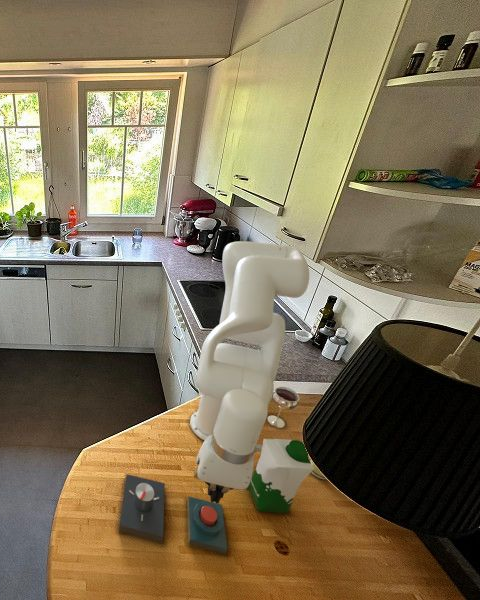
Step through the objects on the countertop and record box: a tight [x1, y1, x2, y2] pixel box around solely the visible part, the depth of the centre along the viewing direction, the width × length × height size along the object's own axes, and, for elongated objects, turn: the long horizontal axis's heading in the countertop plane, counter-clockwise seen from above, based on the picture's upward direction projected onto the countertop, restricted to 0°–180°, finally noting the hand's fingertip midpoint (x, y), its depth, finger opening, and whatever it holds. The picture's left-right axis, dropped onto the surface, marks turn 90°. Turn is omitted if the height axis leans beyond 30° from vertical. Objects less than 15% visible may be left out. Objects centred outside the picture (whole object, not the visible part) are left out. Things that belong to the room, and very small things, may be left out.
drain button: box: [200, 506, 217, 526], centre depth 76 cm, size 4×4×2 cm
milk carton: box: [248, 438, 314, 514], centre depth 79 cm, size 9×9×20 cm
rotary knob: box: [134, 483, 154, 512], centre depth 78 cm, size 4×4×5 cm
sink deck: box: [118, 473, 166, 544], centre depth 80 cm, size 13×10×3 cm
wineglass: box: [267, 386, 300, 428], centre depth 103 cm, size 7×7×12 cm
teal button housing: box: [186, 496, 228, 555], centre depth 77 cm, size 10×8×4 cm
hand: (213, 496), depth 73 cm, fingers closed
